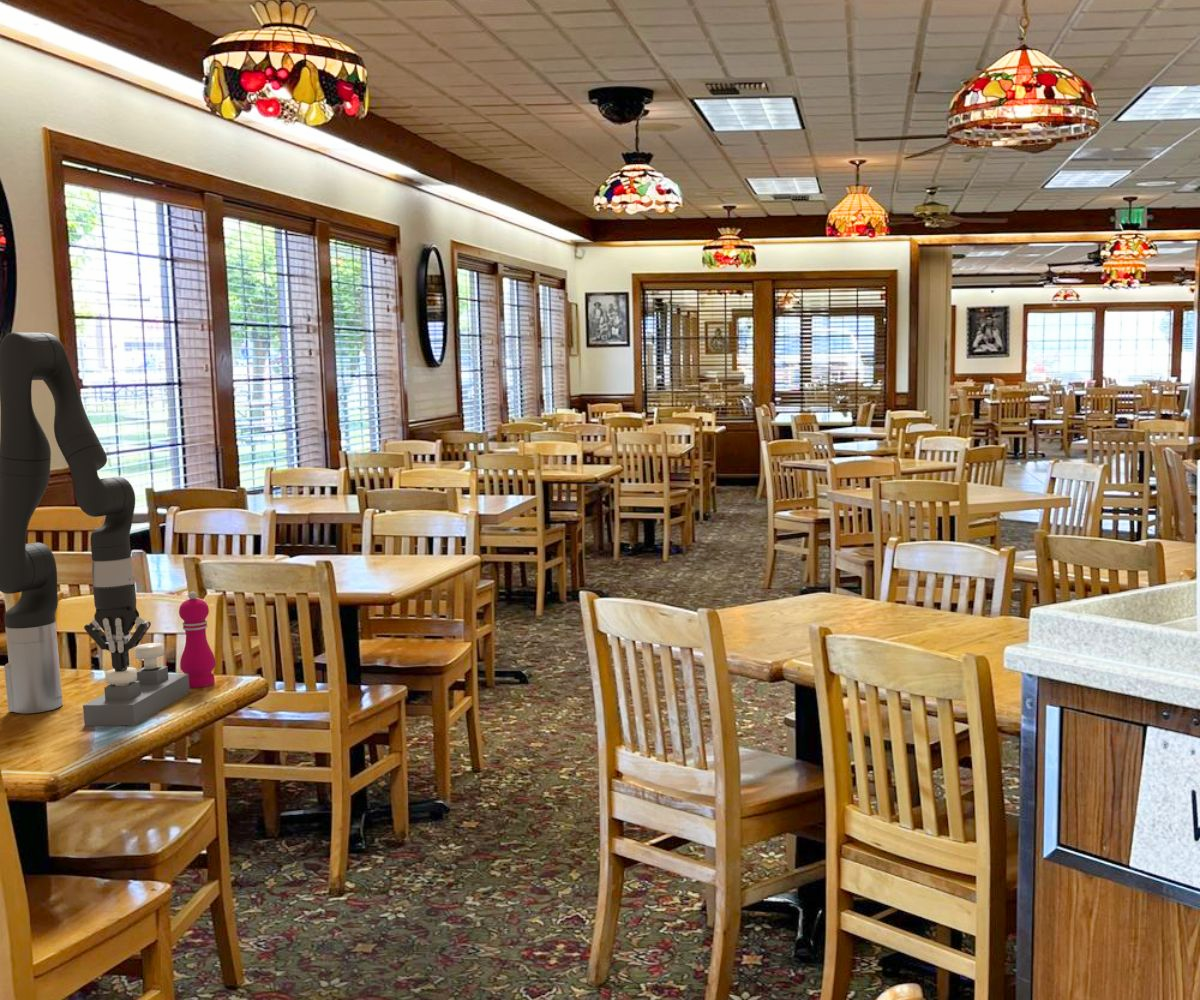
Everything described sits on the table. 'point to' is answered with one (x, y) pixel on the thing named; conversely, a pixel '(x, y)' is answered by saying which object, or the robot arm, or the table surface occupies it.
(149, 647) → the knob
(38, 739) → the table surface
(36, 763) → the table surface
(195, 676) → the pepper mill
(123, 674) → the knob
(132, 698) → the mount bar
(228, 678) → the table surface
